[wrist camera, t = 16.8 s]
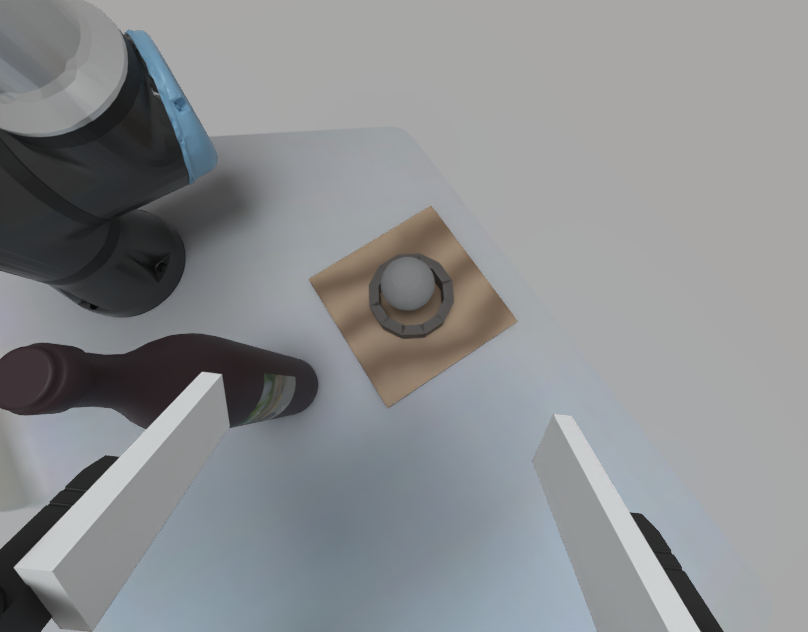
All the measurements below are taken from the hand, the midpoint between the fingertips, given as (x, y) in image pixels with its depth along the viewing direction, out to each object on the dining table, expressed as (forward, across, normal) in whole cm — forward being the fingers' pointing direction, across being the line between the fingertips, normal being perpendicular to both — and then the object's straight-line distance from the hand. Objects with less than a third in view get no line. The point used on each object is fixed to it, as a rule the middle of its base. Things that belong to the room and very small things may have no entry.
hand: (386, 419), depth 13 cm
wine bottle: (+23, -12, -19) cm, 32 cm away
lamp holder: (+30, +2, -8) cm, 32 cm away
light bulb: (+30, +2, -8) cm, 31 cm away
